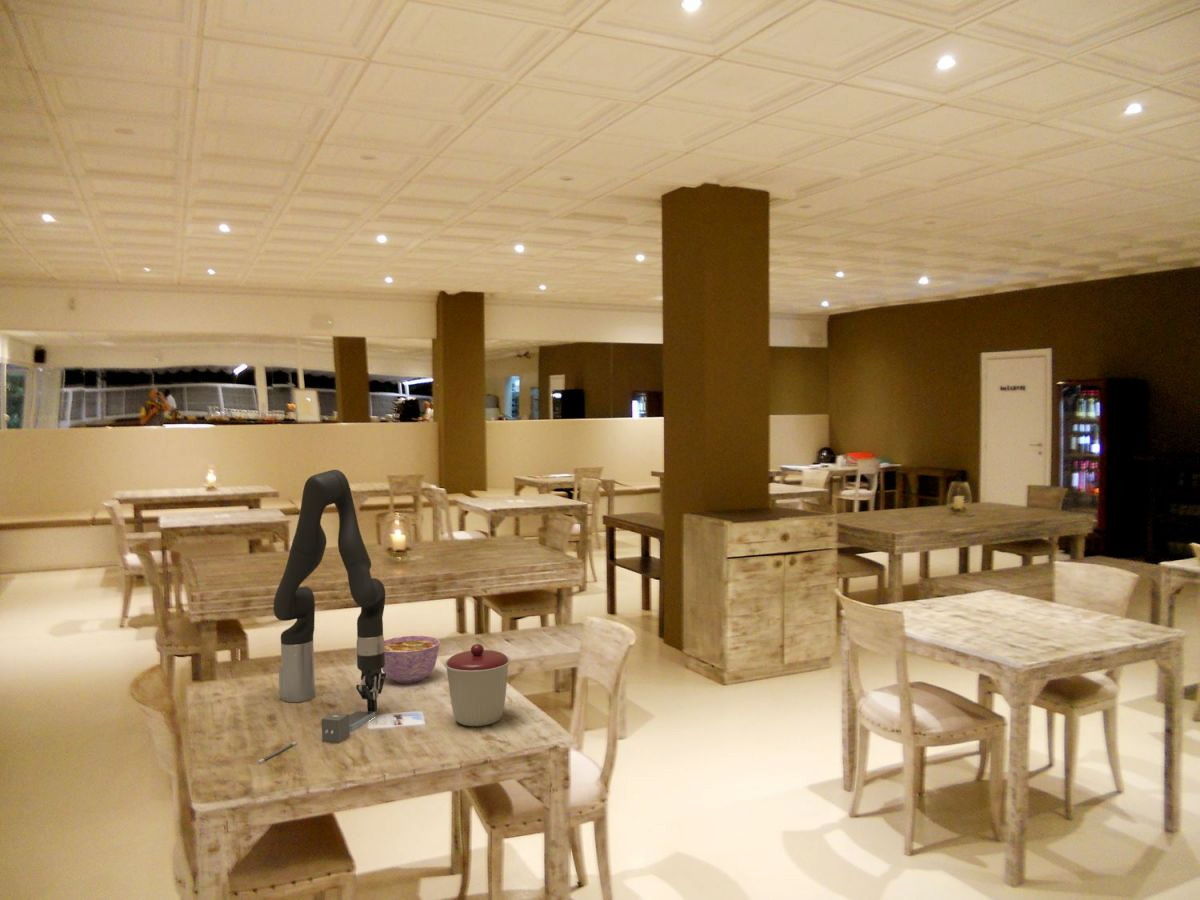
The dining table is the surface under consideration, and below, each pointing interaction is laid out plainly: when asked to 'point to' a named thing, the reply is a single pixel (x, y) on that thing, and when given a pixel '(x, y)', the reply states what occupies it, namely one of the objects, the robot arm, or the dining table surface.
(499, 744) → the dining table surface
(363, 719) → the phone
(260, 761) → the cable
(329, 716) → the charger
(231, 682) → the dining table surface
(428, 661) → the bowl of food
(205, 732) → the dining table surface
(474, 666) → the canister
